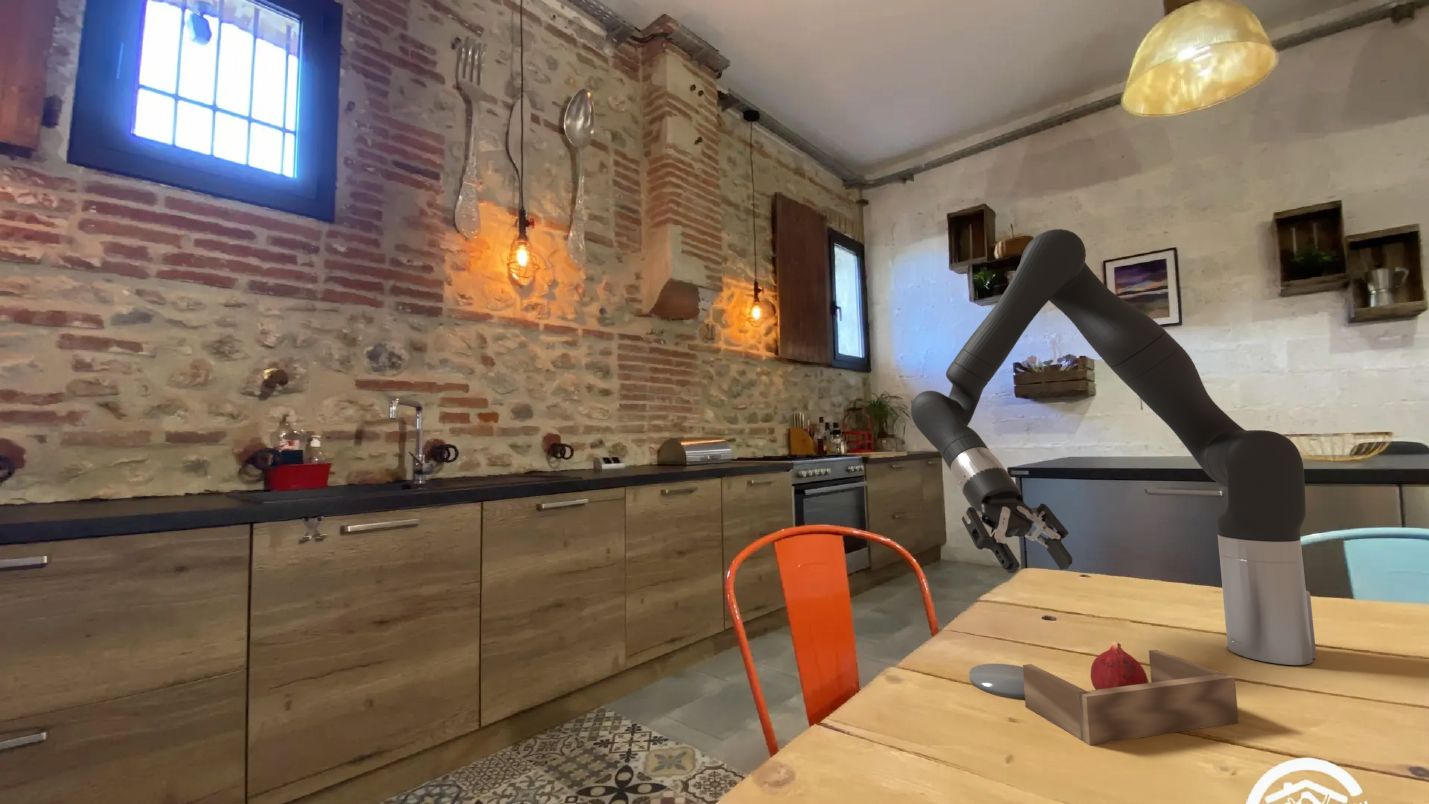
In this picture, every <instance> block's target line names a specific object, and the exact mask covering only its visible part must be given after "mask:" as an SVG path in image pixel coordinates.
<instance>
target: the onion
mask: <svg viewBox="0 0 1429 804" xmlns="http://www.w3.org/2000/svg"><path fill="white" fill-rule="evenodd" d="M1110 644H1111V645H1110V647H1109V649H1108V650H1106V651H1104V652H1101V653H1100V654H1099V655H1097V656H1096V657H1095V659H1094V660H1093V662H1092V664H1091V668H1090V680H1091V684H1092V686H1093V688H1094V690H1099V689H1107V688H1114V687H1122V686H1130V685H1137V684H1145V683H1149V679H1148V676H1147V674H1146V671H1145V669H1144V667H1143V666H1142V665H1141V664H1140V662H1139V661H1138V660H1136V658H1135V657H1133V656H1132V655H1131V654H1129V653H1128V652H1126V651H1125V650H1124V649H1123V648H1122V644H1120V643H1119V642H1118V641H1115V640H1114V641H1113V642H1111V643H1110Z"/></svg>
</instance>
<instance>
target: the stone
mask: <svg viewBox="0 0 1429 804" xmlns="http://www.w3.org/2000/svg"><path fill="white" fill-rule="evenodd" d="M968 671H969V672H968V673H969V681H970V683H971V684H972V685H973V686H974V687H976V688H977V689H979V690H981V691H983V692H985V693H988V694H992V695H994V696H999V697H1004V698H1007V699H1008V698H1009V699H1015V700H1025V690H1024V674H1023V666H1020V665H1015V664H1008V663H1007V664H1006V663H985V664H979V665H975V666H973V667H972V668H970V670H968Z"/></svg>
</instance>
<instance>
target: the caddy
mask: <svg viewBox="0 0 1429 804" xmlns="http://www.w3.org/2000/svg"><path fill="white" fill-rule="evenodd" d="M1148 658H1149V669H1150V682H1148V683H1145V684H1137V685H1130V686H1122V687H1114V688H1107V689H1099V690H1095V689H1093V690H1086V689H1083V688H1082V687H1079V686H1077V685H1075V684H1073V683H1071V682H1069V681H1067V680H1065V679H1063V678H1061V677H1059V676H1056V675H1055V674H1053V673H1051V672H1049V671H1047V670H1045V669H1043V668H1040V667H1039V666H1036V665H1035V664H1032V663H1030V664H1029V663H1028V664H1022V667H1023V674H1024V690H1025V699H1024V702H1025V704H1024V705H1025V708H1027V709H1029V710H1030V711H1032V712H1034V713H1035V714H1036V715H1039V716H1041V718H1044V719H1045V720H1047V721H1048V722H1050V723H1052V724H1053V725H1055V726H1057V727H1059V728H1060V729H1062V730H1064V731H1065V732H1068V733H1069V734H1071V735H1073V736H1074V737H1076V738H1077V739H1080V740H1081V741H1082V742H1084V743H1086V744H1087V745H1089V746H1093V745H1097V744H1098V745H1099V744H1106V743H1112V742H1113V743H1114V742H1118V741H1119V742H1120V741H1125V740H1132V739H1137V738H1138V739H1139V738H1145V737H1152V736H1157V735H1159V736H1160V735H1165V734H1171V733H1177V732H1185V731H1191V730H1197V729H1203V728H1204V729H1205V728H1211V727H1219V726H1222V725H1223V726H1224V725H1231V724H1237V723H1238V724H1239V722H1240V721H1239V711H1238V699H1237V698H1238V697H1237V689H1236V677H1235V676H1232V675H1229V674H1227V673H1224V672H1221V671H1218V670H1215V669H1212V668H1209V667H1207V666H1204V665H1202V664H1198V663H1195V662H1192V661H1190V660H1187V659H1186V658H1181V657H1179V656H1176V655H1173V654H1170V653H1168V652H1164V651H1162V650H1159V649H1149V650H1148Z"/></svg>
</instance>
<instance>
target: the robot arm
mask: <svg viewBox="0 0 1429 804" xmlns="http://www.w3.org/2000/svg"><path fill="white" fill-rule="evenodd" d="M1086 250H1087V249H1086V246H1085V244H1084V242H1083V240H1082V239H1081V237H1080V236H1079V235H1077V233H1075V232H1074V231H1071V230H1068V229H1062V228H1058V229H1057V228H1055V229H1051V230H1047V231H1044V232H1042V233H1039V234H1037V235H1036V236H1035V237H1033V239H1031V240H1030V241H1029V242H1028V243H1027V245H1026V247H1025V248H1024V250H1023V252H1022V255H1021V258H1020V260H1019V261H1020V262H1019V265H1018V266H1017V268H1016V271H1015V273H1014V275H1013V276H1012V278H1011V280H1010V282H1009V284H1008V286H1007V287H1006V289H1005V290H1004V292H1003V294H1001V297H1000V298H999V299H998V301H997V303H996V304H995V305H994V307H993V308H992V309H991V310H990V312H989V313H988V315H986V317H985V318H984V319H983V321H982V322H981V323H980V325H979V326H978V327H977V328H976V330H975V331H974V332H973V333H972V334H971V336H970V337H969V338H968V340H967V341H966V342H965V344H964V345H963V347H962V348H961V349H960V350H959V351H958V353H957V354H956V356H955V358H954V359H953V361H951V363H950V365H949V366H948V367H947V370H946V373H945V375H946V376H945V377H946V378H947V380H948V381H949V383H951V385H952V386H951V390H950V392H949V395H948V396H947V395H945V394H944V393H941V392H939V391H936V390H925V391H922V392H920V393H919V394H917V395H916V396H915V397H914V399H913V400H912V403H911V406H910V415H911V419H912V421H913V424H914V425H915V426H916V428H917V429H918V431H919V432H920V433H921V434H922V435H923V436H924V437H925V438H926V440H927V441H928V442H929V443H930V444H931V445H932V446H933V447H934V448H935V449H936V450H937V451H938V452H939V453H940V455H941V457H942V459H943V461H944V462H945V464H946V466H947V467H948V468H949V470H950V472H951V474H952V477H953V478H954V481H955V483H956V484H957V486H958V488H959V489H960V491H961V493H962V494H963V496H964V497H965V499H966V500H967V502H968V504H969V505H970V506H969V507H968V508H967V509H966V511H965V513H964V514H963V516H962V517H961V520H962V523H963V525H964V527H965V528H966V530H967V532H968V535H969V536H970V538H971V540H972V543H973V544H974V547H976V549H977V550H980V551H981V550H984V549H985V550H988V551H989V552H991V553H993V554H994V556H995V558H996V559H997V561H998V563H999V564H1000V566H1001V568H1002V569H1004V570H1006V572H1007V573H1008V574H1015V573H1016V572H1017V571H1018V569H1019V568H1020V566H1021V565H1020V562H1019V560H1018V559H1017V557H1016V556H1015V554H1014V553H1013V551H1012V550H1011V548H1010V546H1009V545H1008V544H1007V542H1006V543H1004V541H1005V538H1013V537H1018V538H1019V537H1020V538H1021V537H1022V538H1023V537H1025V538H1027V540H1029V541H1032V542H1037V543H1038V544H1041V545H1042V546H1044V547H1045V548H1046V551H1047V552H1048V554H1049V555H1050V557H1051V559H1052V560H1053V561H1054V563H1055V564H1056V565H1057V566H1058V568H1059V569H1060V570H1063V571H1064V570H1068V568H1069V567H1071V565H1072V564H1073V558H1072V555H1071V554H1070V553H1069V551H1068V549H1067V548H1066V547H1065V546H1064V545H1063V540H1065V538H1066V537H1067V536H1068V535H1069V531H1068V529H1066V528H1065V526H1064V525H1063V523H1061V521H1060V520H1059V519H1058V518H1057V517H1056V514H1054V513H1053V511H1052V510H1051V509H1050V508H1049V507H1048V505H1046V504H1045V503H1040V504H1039V505H1038V506H1037V507H1030V506H1029V505H1027V504H1026V503H1025V502H1024V501H1023V495H1022V491H1021V490H1020V488H1019V486H1018V485H1017V484H1016V483H1015V481H1014V480H1013V478H1012V477H1011V474H1009V473H1008V471H1007V470H1006V469H1005V467H1004V466H1003V464H1002V463H1001V462H1000V459H999V458H997V457H996V456H995V454H993V453H992V452H991V450H990V449H989V448H988V446H987V445H986V443H985V442H984V440H983V439H982V438H981V437H980V435H979V434H978V433H977V431H975V430H974V429H973V428H971V427H969V425H970V423H971V421H972V418H973V417H974V414H975V412H976V409H977V406H978V404H979V402H980V398H981V396H982V394H983V390H984V389H985V387H986V386H987V385H988V384H989V383H990V381H991V380H992V379H993V377H994V376H995V374H996V373H997V371H999V369H1000V367H1001V366H1002V365H1003V364H1004V362H1005V360H1007V358H1008V357H1009V354H1011V352H1012V350H1013V349H1014V347H1015V346H1016V344H1017V343H1018V341H1019V340H1020V338H1021V336H1022V335H1023V333H1024V332H1025V331H1026V330H1027V328H1028V327H1029V325H1030V324H1031V322H1032V321H1033V320H1034V318H1035V317H1036V316H1037V315H1038V314H1039V313H1040V311H1041V310H1042V308H1043V307H1045V305H1046V304H1047V303H1048V302H1050V303H1051V304H1052V305H1054V306H1055V308H1057V309H1058V310H1059V311H1061V313H1063V314H1064V315H1065V316H1066V317H1067V318H1068V319H1069V320H1070V322H1071V323H1072V324H1073V325H1074V326H1075V327H1076V329H1077V330H1078V331H1079V333H1080V334H1081V335H1082V337H1083V338H1084V340H1086V342H1087V343H1088V344H1089V345H1090V346H1091V348H1092V349H1093V350H1094V351H1095V353H1096V354H1097V355H1099V357H1100V358H1101V360H1103V362H1104V363H1105V364H1106V365H1107V366H1108V367H1109V368H1110V370H1112V371H1113V373H1115V375H1116V376H1117V377H1118V378H1120V379H1121V381H1122V382H1123V383H1124V384H1125V385H1127V387H1128V388H1130V390H1132V391H1133V392H1134V393H1135V394H1136V395H1137V396H1138V397H1139V399H1140V400H1141V401H1142V402H1143V403H1144V404H1145V405H1146V406H1147V407H1148V408H1149V409H1151V410H1152V412H1153V413H1154V414H1156V415H1157V417H1159V418H1160V419H1161V420H1162V421H1163V422H1164V423H1165V424H1166V425H1167V426H1168V427H1169V429H1171V430H1172V432H1173V433H1174V434H1175V436H1176V437H1178V439H1179V440H1180V441H1181V443H1182V444H1183V445H1184V446H1185V448H1186V449H1187V451H1188V452H1189V453H1190V454H1191V456H1192V457H1193V458H1194V460H1195V461H1196V462H1197V464H1198V465H1199V466H1200V467H1201V469H1202V470H1203V471H1204V472H1205V473H1206V474H1207V476H1208V477H1210V478H1211V479H1212V480H1213V481H1215V482H1216V483H1218V484H1219V485H1221V486H1223V487H1226V488H1227V507H1226V509H1225V510H1224V512H1223V513H1221V514H1219V515H1218V517H1217V519H1216V531H1217V543H1218V544H1217V545H1218V553H1219V564H1220V573H1221V574H1220V576H1221V585H1222V598H1223V609H1224V620H1225V622H1224V623H1225V633H1226V644H1227V649H1228V651H1230V652H1232V653H1233V654H1236V655H1239V656H1241V657H1243V658H1244V657H1245V658H1248V659H1251V660H1256V661H1259V662H1265V663H1272V664H1276V665H1289V666H1290V665H1291V666H1304V665H1309V664H1312V663H1313V661H1314V660H1313V659H1316V658H1317V650H1316V638H1315V629H1314V619H1313V618H1314V617H1313V610H1312V609H1313V608H1312V599H1311V593H1310V591H1309V590H1307V587H1306V580H1305V579H1306V578H1305V577H1306V576H1305V571H1304V570H1305V567H1304V560H1303V559H1304V558H1303V550H1302V549H1303V548H1302V541H1301V538H1302V537H1301V528H1302V526H1303V523H1304V521H1305V518H1306V513H1307V511H1306V510H1307V509H1306V507H1307V506H1306V485H1305V483H1306V482H1305V480H1306V479H1305V470H1304V463H1303V459H1302V455H1301V452H1300V450H1299V449H1298V447H1297V446H1296V445H1295V443H1294V442H1293V441H1292V440H1291V439H1290V438H1288V437H1287V436H1285V435H1284V434H1282V433H1278V432H1276V431H1271V430H1264V429H1262V430H1261V429H1260V430H1259V429H1254V430H1252V429H1250V430H1249V429H1248V430H1246V429H1244V427H1242V426H1240V424H1238V423H1237V422H1235V420H1233V419H1232V418H1231V417H1229V416H1230V415H1228V414H1227V413H1225V412H1224V411H1223V410H1222V409H1221V408H1220V407H1219V406H1218V405H1217V404H1216V403H1215V401H1214V400H1213V399H1212V397H1211V396H1210V395H1209V394H1208V391H1207V389H1206V387H1205V386H1204V384H1203V381H1202V378H1201V376H1200V374H1199V372H1198V369H1197V367H1196V365H1195V363H1194V361H1193V359H1192V358H1191V357H1190V354H1188V352H1187V351H1186V350H1185V348H1184V347H1182V345H1181V344H1180V343H1179V342H1178V341H1176V340H1175V338H1173V336H1171V334H1170V333H1169V332H1168V331H1166V330H1165V328H1164V327H1162V325H1160V324H1159V323H1158V322H1157V321H1155V320H1154V319H1153V318H1151V317H1150V316H1148V315H1147V314H1146V313H1144V312H1143V311H1141V310H1140V309H1138V308H1137V307H1135V306H1134V305H1133V304H1131V303H1130V302H1127V301H1126V300H1124V298H1122V297H1120V296H1118V295H1117V294H1115V292H1113V291H1111V290H1110V289H1109V288H1108V287H1107V286H1106V285H1105V284H1104V283H1103V282H1102V281H1101V280H1100V279H1099V277H1098V276H1097V275H1096V274H1095V273H1094V271H1092V269H1091V268H1090V266H1089V265H1088V264H1087V262H1086V256H1087V255H1086V254H1087V252H1086ZM985 525H986V526H987V527H988V528H990V529H989V530H990V531H989V532H988V530H987V528H986V527H985ZM1033 526H1035V527H1036V529H1035V530H1034V531H1031V529H1032V527H1033ZM1054 529H1055V530H1054ZM1042 534H1044V535H1045V536H1047V537H1048V538H1046V537H1045V536H1043V535H1042Z"/></svg>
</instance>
